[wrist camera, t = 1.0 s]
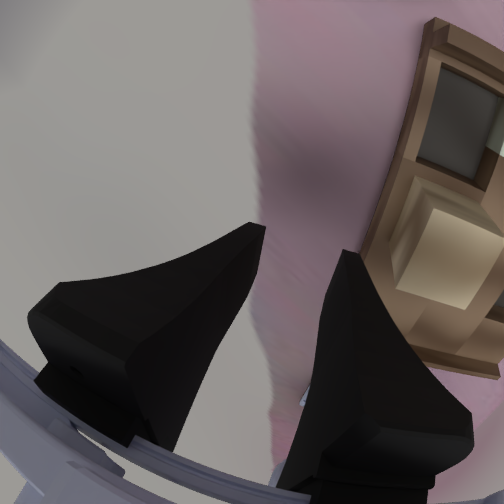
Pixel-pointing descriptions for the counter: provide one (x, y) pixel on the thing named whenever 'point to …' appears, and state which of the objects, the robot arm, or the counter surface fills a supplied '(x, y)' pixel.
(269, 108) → the counter surface
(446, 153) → the trap board
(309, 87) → the counter surface
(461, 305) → the maple block
